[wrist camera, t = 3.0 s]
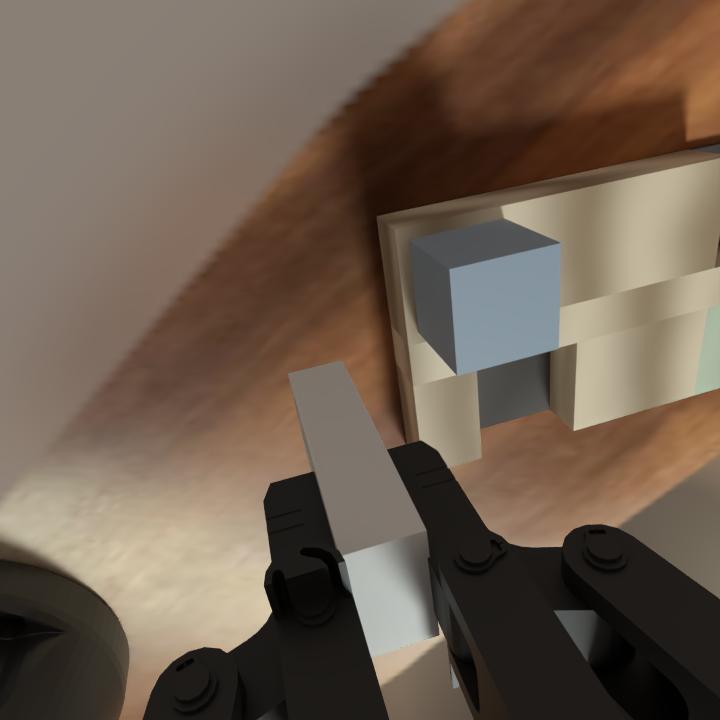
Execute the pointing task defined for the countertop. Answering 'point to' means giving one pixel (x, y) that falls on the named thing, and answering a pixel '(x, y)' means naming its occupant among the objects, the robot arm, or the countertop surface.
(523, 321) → the cube
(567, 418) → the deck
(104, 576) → the countertop surface
